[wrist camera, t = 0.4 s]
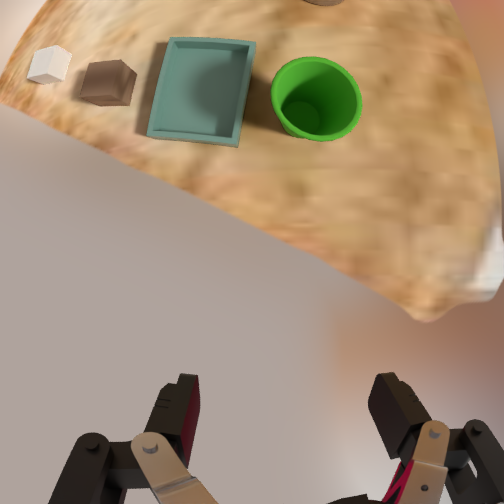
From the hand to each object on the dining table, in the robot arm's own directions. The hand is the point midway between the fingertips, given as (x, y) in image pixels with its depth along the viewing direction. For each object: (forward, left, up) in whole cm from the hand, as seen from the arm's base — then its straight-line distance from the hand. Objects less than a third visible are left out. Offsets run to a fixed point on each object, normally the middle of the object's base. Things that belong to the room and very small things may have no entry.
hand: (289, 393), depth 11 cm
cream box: (-25, -38, -28) cm, 53 cm away
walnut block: (-20, -24, -28) cm, 42 cm away
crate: (-20, -11, -28) cm, 36 cm away
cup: (-18, +2, -28) cm, 33 cm away
